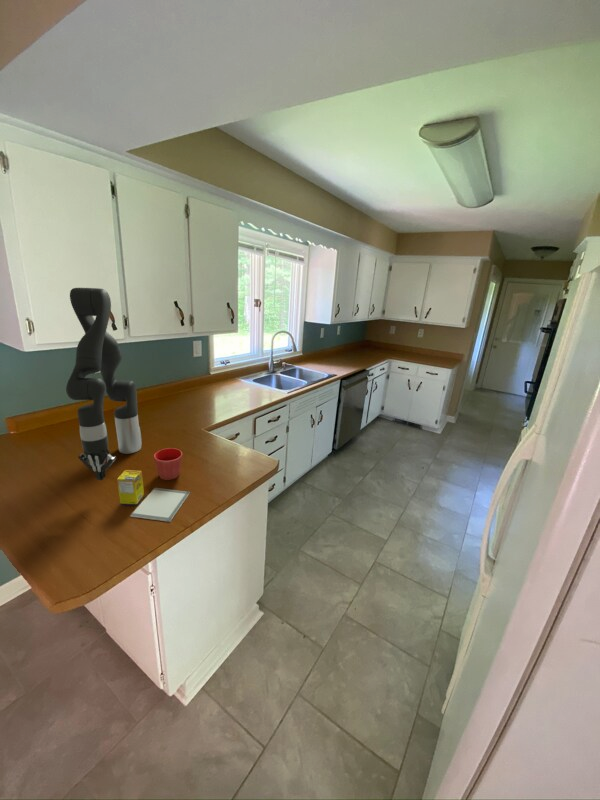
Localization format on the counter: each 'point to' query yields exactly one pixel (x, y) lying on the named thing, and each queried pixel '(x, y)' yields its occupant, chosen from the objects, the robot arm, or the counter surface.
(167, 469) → the flower pot
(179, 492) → the mat
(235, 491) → the counter surface
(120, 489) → the supplement box
